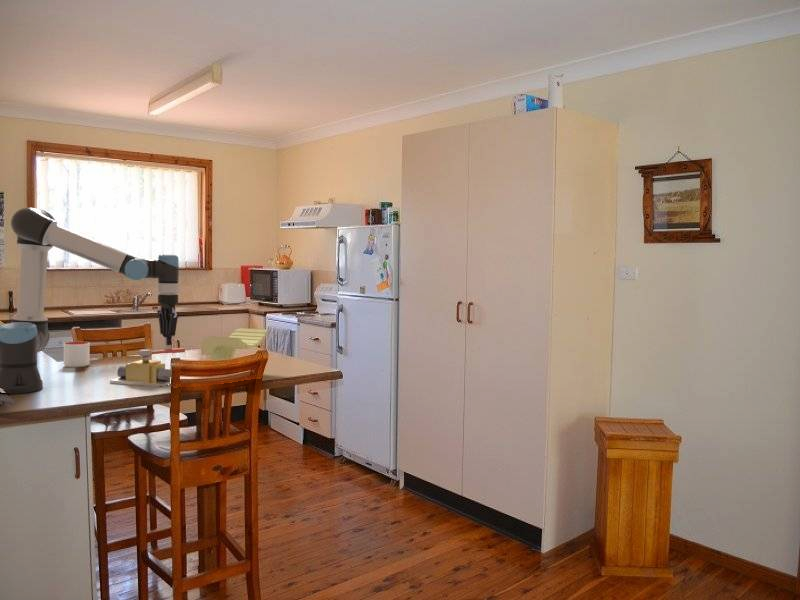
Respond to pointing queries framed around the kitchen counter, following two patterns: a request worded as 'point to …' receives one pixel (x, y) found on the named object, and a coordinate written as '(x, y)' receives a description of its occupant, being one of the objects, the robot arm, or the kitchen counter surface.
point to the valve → (143, 373)
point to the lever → (160, 351)
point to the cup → (76, 354)
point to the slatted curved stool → (232, 343)
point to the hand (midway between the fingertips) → (167, 352)
